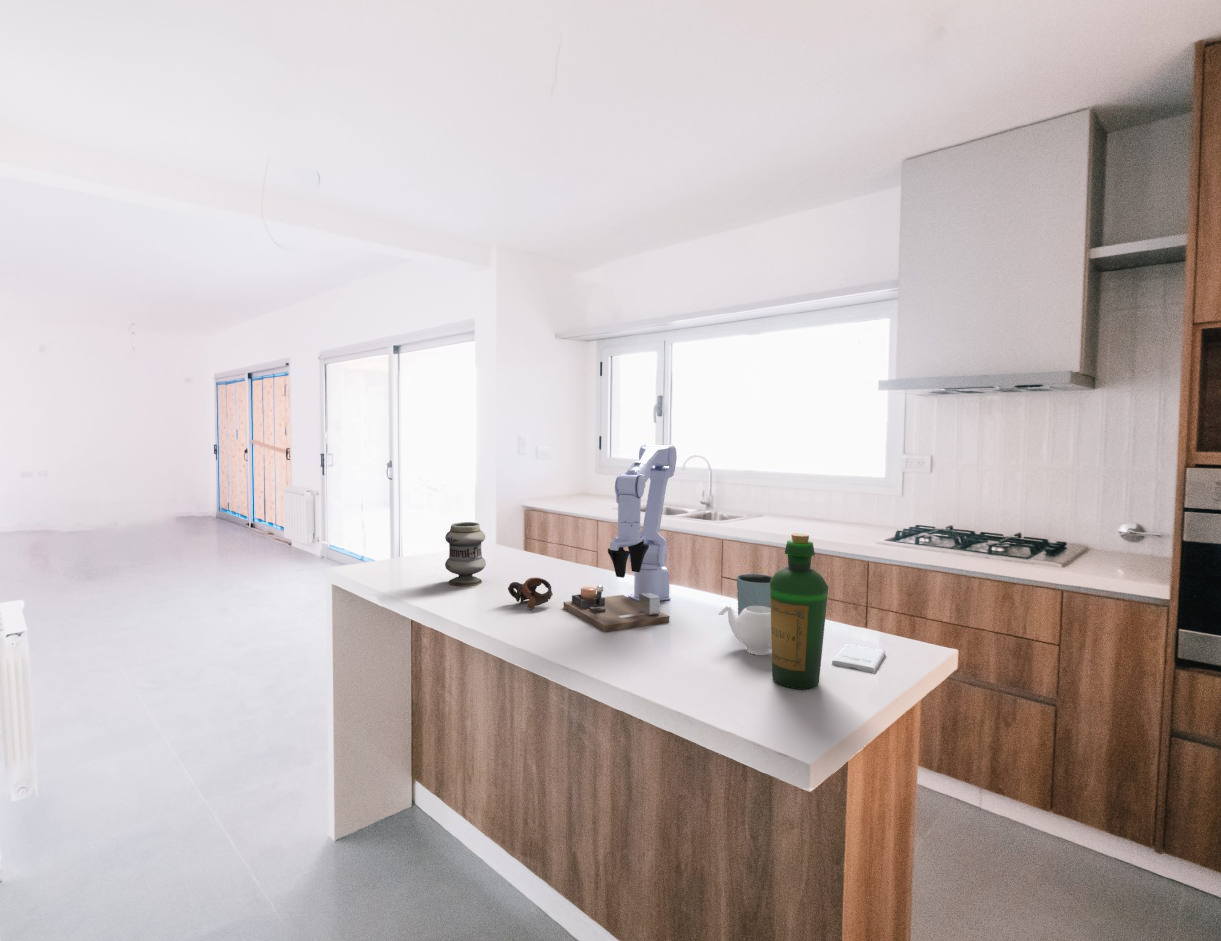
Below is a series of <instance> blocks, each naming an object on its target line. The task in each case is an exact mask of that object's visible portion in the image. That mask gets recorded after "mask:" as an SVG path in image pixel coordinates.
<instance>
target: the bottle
mask: <svg viewBox="0 0 1221 941" xmlns="http://www.w3.org/2000/svg"><path fill="white" fill-rule="evenodd" d="M784 554H786V555H787V564H788V565H787V566H785V567H783V568H781V569H779V570H778V571H776V572H775V573H774V575H772V578H771V580H770V604H771V644H772V649H771V665H772V666H771V674H772V675H771V676H772V680H774V681H775V682H776V683H778V684H780V685H781V686H784V687H787V688H790V689H799V690H803V689H805V690H806V689H810V688H814V687H816V686H817V685H818V684H819V683H820V677H821V676H820V675H821V666H822V664H821V663H822V656H823V644H824V637H825V636H824V634H825V623H826V614H827V604H828V594H829V585H828V583H827V582H826V581H825V579H824V577H823V575H821V574H820V573H819V572H818V571H816V570H815V569H814V568H811V564H812V557H814V556H815V555H816V553H815V548H814V542H813V541H811V540H810V535H809V534H806V533H791V539H789V540H787V542H786V544H785V550H784Z"/></svg>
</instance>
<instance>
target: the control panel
mask: <svg viewBox="0 0 1221 941" xmlns="http://www.w3.org/2000/svg"><path fill="white" fill-rule="evenodd" d="M596 595H597V593H596ZM595 602H596V598H594V599H586V600H584V599H582V598H581V593H578V594H572V595H571V600H570V601H564V602H563V609H565V610H567V611H569V612H571V613H572V614H573V615H575V616H577V617H579V618H580V619H582V620H584V621H585V622H586V623H589V624H590V625H592V626H594V627H596V628H597V629H599V630H601V631H603V632H605V633H607V632H614V631H620V630H628V629H632V628H639V627H645V626H654V625H660V624H666V622H667V623H670V615H668V614H665V613H663V612H661V611H660V614H654V615H648V614H646V613H644V612H642V611H640V610H639V601H637V600H635V599H633V598H630V597H628V596H626V595H624V594H618V595H611V596H604V597H603V596H601V601H600V603H601V604H602V606H601V607H593V604H596V603H595Z"/></svg>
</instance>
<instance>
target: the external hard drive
mask: <svg viewBox="0 0 1221 941" xmlns="http://www.w3.org/2000/svg"><path fill="white" fill-rule="evenodd" d="M885 656H886V651H885V650H884V649H881V648H880V649H879V648H875V647H868V646H863V645H858V644H851V643H846V644H844V645H843V646H842V648H841V649H840V651H839V652H838V653H837V654H836V655H835V657H834V658H833V659H832V661H831V665H833V666H838V667H844V668H849V669H855V670H857V671H858V670H859V671H863V672H869V673H874V674H875V673H876V671H877V669H878V667H879V666H880V664H881V662H882V661H883V659H884V658H885Z"/></svg>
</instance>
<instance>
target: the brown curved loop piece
mask: <svg viewBox="0 0 1221 941" xmlns="http://www.w3.org/2000/svg"><path fill="white" fill-rule="evenodd" d="M541 585H544V587H545V588H547V591H546V592H544V593H541V592H538V591H537V588H538V587H539V586H541ZM507 590H508V593H509V594H510V595H511V596H512V598H514V599H515V600H516V602H517V603H519V602H521V603H523V602H524V601H526V600H528V602H527V604H526V607H527V609H529V610H533V609H534V608H535V607H538V606H540V605H543V604H545V603H548V602H549V600H551V599H552V596H553V591H552V585H551V583H550V582H549V581H547V580H546V579H543V578H540V577H529V578H527V579H526V580H525V582H524V583H520V582H518V581H512V582H511V583H509V585H508V587H507Z"/></svg>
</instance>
